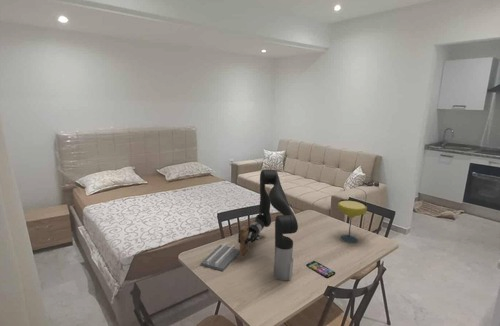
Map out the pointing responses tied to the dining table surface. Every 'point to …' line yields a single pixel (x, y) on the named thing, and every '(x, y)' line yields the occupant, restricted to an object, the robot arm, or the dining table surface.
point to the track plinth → (221, 257)
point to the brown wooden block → (243, 237)
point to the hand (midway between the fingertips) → (242, 242)
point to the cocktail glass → (351, 214)
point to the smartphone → (320, 269)
